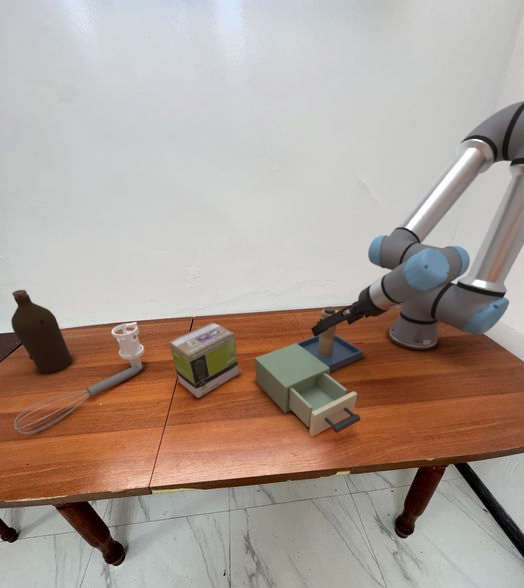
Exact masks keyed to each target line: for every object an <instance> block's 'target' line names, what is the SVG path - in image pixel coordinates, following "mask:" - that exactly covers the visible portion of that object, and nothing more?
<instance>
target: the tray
mask: <svg viewBox="0 0 524 588" xmlns="http://www.w3.org/2000/svg"><path fill="white" fill-rule="evenodd" d="M296 343H297V344H298V345H300V346H301V347H302V348H304V349H305V350H306V351H308V352H309V353H310V354H312V355H313V356H314V357H316V358H317V359H319V360H320V361H321V362H323V363H324V364H325V365H327V366H328V367H329V368H330V372H329V373H332V372H333V371H335V370H338V369H339V368H342V367H344V366H347V365H350V364H352V363H354V362H356V361H358V360H361V359H362V358H363V356H364V350H363V349H361V348H359V347H358V346H356V345H354V344H353V343H351V342H350V341H348V340H347V339H344V337H341V336H340V335H338V334H336V333H335V339H334V347H333V354H332V356H331V357H327V358H325V357H321V356H319V355H318V343H319V335H318V336H316V337H314V336H311V337H309V338H306V339H304V340H303V339H302V340H301V341H298V342H296Z"/></svg>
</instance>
